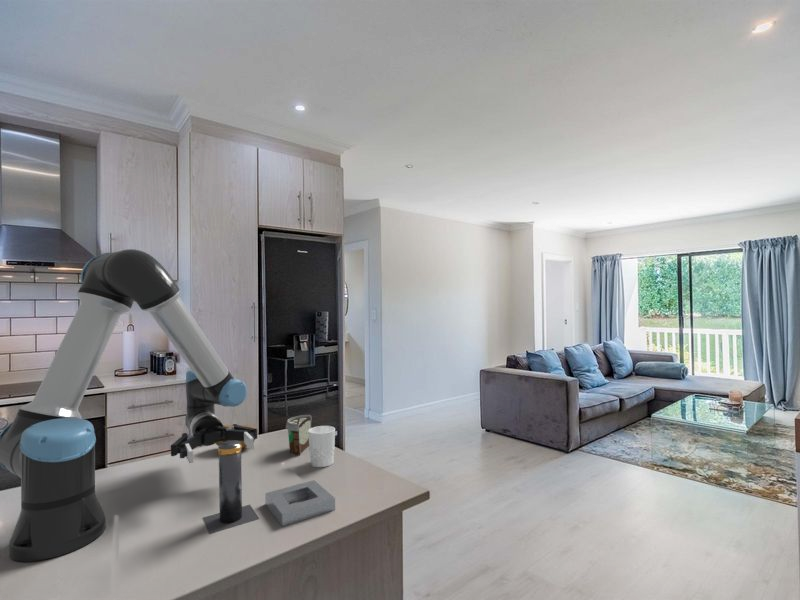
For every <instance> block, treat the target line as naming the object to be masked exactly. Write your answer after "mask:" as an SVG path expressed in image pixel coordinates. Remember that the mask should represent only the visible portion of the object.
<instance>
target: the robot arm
mask: <svg viewBox="0 0 800 600" xmlns="http://www.w3.org/2000/svg"><path fill="white" fill-rule="evenodd" d="M80 282H81V285H80V287H79V289H78V291H77V293H76V296H77V298H78V300H79V302H80V304H79V306H78V308H77V310H76V313H75V314H74V316H73V319H72V320H71V322H70V324H69V327H68V328H67V330H66V333H65V334H64V337H63V339H62V341H61V343H60V344H59V347H58V349H57V350H56V353H55V355H54V357H53V359H52V361H51V363H50V365H49V367H48V370H47V371H46V373H45V375H44V378H43V379H42V381H41V384H40V385H39V388H38V389H37V391H36V394H35V395H34V397H33V400H31V401H30V402H29V403H26V404H24V405H21V406H20V408H19V409H18V411H17V413H16V415H15V417H14V419H13V421H11V423H9V424H8V425H7V426H6V427H4V428H3V429H2V430H1V432H0V467H1V468H2V469H3V470H5V471H6V472H8V473H11V474H14V475H15V476H17V477H18V478H19V479H20V494H21V495H20V496H21V497H20V500H21V501H20V503H21V506H20V507H21V508H20V513H19V515H18V518H17V521H16V524H15V527H14V528H13V529H14V530H13V531H12V534H11V536H10V539H9V542H8V556H9V558H10V559H11V560H13V561H16V562H22V563H23V562H29V563H30V562H37V561H38V562H39V561H43V560H48V559H52V558H56V557H60V556H64V555H66V554H68V553H71V552H73V551H76V550H78V549H80V548H83V547H85V546H88V545H89V544H90V543H92V542H93V541H95V540H96V539H97V538H99V537H100V536H101V535H102V534H103V533H104V531H105V530H106V515H105V513H104V510H103V508H102V505H101V503H100V501H99V499H98V496H97V494H96V443H97V437H96V433H95V428H94V425H93V423H92V422H91V421H89V420H88V419H84V418H83V417H82V414H81V413H80V411H79V407H80V405H81V403H82V400H83V398H84V396H85V394H86V391H87V389H88V388H89V385H90V384H91V380H92V378H93V377H94V374H95V372H96V370H97V367H98V365H99V363H100V361H101V359H102V356H103V354H104V352H105V350H106V347H107V345H108V343H109V341H110V339H111V336H112V334H113V332H114V329H115V328H116V326H117V323H118V321H119V318H120V316H122V315H123V314H125V313H128V312H130V311H131V310H132V308H133V304H134V302H135V303H136V304H137V305H138V306H139V308H140V309H141V310H142V311H144V312H149V314H150V315H151V316H152V318H153V319H154V321H155V323H157V325H158V326H159V328H160V329H161V330H162V331H163V332H164V334H165V336H166V338H167V339H168V340H169V341H170V343H172V345H173V347H174V348H175V349H176V351H177V352H178V353H179V355H180V356H181V358H182V359H183V360H184V362H185V364H187V366H188V367H189V369H188V370H187V371H186V374H185V397H186V414H185V420H184V421H185V426H186V428H187V429H188V431H189V432H190V434H191V435H190V434H188V433H186V432H184V433H182V434H181V436H180V437H179V438H177V439H176V440H175V441H174V442H173V443H172V444H171V445H170V457H176V456H177V455H179V459H185V458H186V460H187V462H188V463H189V465H190V464H193V463H194V453H193V452H194V451H193V450H194V449H196V448H198V447H199V448H200V447H203V446H205V447H208V446H212V445H215V444H216V442H218V441H228V440H238V441H244V443H245V444H246V445H247V447H248V449H249V450H250V451H252V450H254V449H255V445H254V443H255V440H257V439H258V433H257V432H258V429H257V428H256V427H255V428H256V429H255V428H250V427H244V426H245V425H244V426H239V425H240V424H237V423H234V424H231V425H232V428H229V427H224V424H223V423H222V421H221V420H220V419H219V417H217V416H216V414H215V411H216V410H215V405H217V406H221V407H230V408H231V407H232V408H233V407H234V408H235V407H237V406H239V405H241V404H242V403H243V402H244V401H245V399H246V397H247V395H248V387H247V385H246V383H245V382H244V381H242V380H240V379H238V378H234V376H233V375H232V373H231V372H230V371H229V368H227V366H226V365H225V363H224V362H223V360H222V359H221V357H220V356H219V354H218V352H217V350H215V348H214V347H213V345H212V343H211V342H210V340H209V339H208V338H207V337H206V334H205V333H204V332H203V330H202V329H201V327H200V326H199V324H198V323H197V321H196V319H195V318H194V317H193V315H192V313H191V312H190V311H189V309H188V308H187V306H186V304H185V303H184V302H183V300H182V299H181V297H180V292H181V289H180V288H179V287H178V285H177V283H176V281H175V280H174V279H173V277H172V276H171V274H169V272H168V271H167V269H166V268H165V267H164V266H163V265H162V264H161V262H159V260H157V259H156V258H154V256H152V255H151V254H149V253H147V252H145V251H142V250H140V249H139V250H138V249H134V248H130V249H127V248H126V249H122V250H119V251H115V252H114V251H113V252H111V251H110V252H105V253H102V254H99V255H96V256H95V257H93V258H91V259H90V260H89V261H87V262H86V263H85V265H84V266H83V268H82V270H81V273H80ZM223 437H224V438H223ZM254 439H255V440H254Z"/></svg>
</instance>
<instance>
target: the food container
mask: <svg viewBox="0 0 800 600" xmlns="http://www.w3.org/2000/svg"><path fill="white" fill-rule="evenodd" d="M312 421H313V420H312V415H311V414H303V415H302V414H301V415H297V416H293V417H290V418H288V419H287V421H286V424H285V429H286V430H287V431H288V432H287V434H288V443H289V444H288V445H289V453H291V455H295V456H302V454H303V453H304V452H306V450H307V449H309V435H308V430H309V429H311V428H312Z"/></svg>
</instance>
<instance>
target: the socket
mask: <svg viewBox="0 0 800 600" xmlns="http://www.w3.org/2000/svg"><path fill="white" fill-rule="evenodd" d="M264 495H265V498H264V499H265V507H267V508H268V509H269V511H270V512H271V514H272V516H274V517H275V518H276V520H277V521H278V522H279V524H280V525H281V527H285V526H288V525H292V524H295V523H297V522H301V521H304V520H306V519H309V518H314V517H317V516H320V515H323V514H326V513H328V512H332V511H335V510H336V497H334V496H333V495H332V494H331V493H330V492H329V491H327V490H326V489H325V488H324V487H323V486H322V485H321V484H319V483H318V482H317V481H316V480H315V479H313V480H310V481H306V482H302V483H299V484H294V485H290V486H287V487H284V488H280V489H277V490H272V491H270V492H265V493H264ZM304 499H307V500H304ZM300 500H301V502H300ZM302 500H304V501H302ZM298 501H299V502H298ZM294 502H298V503H294ZM291 503H293V504H291Z"/></svg>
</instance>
